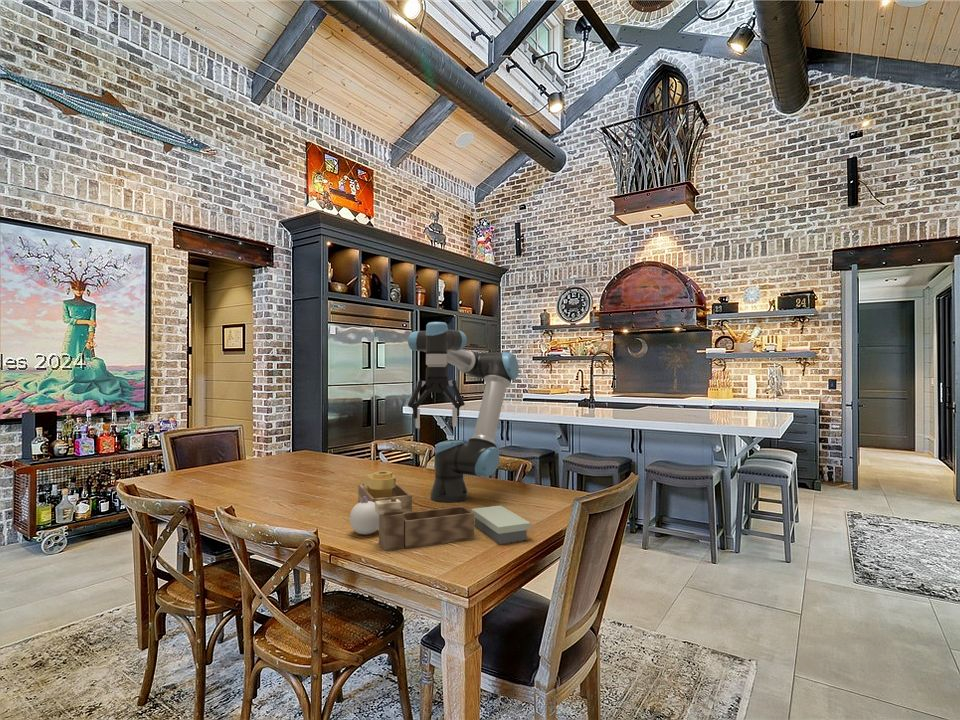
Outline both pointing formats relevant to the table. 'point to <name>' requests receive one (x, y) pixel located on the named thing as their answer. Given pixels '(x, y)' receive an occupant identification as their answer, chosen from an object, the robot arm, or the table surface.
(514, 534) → the block
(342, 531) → the table surface
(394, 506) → the beige notched block
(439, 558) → the table surface
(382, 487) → the tan round stepped piece
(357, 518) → the ornament
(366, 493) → the box
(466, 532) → the toolbox
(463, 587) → the table surface
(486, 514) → the lid
